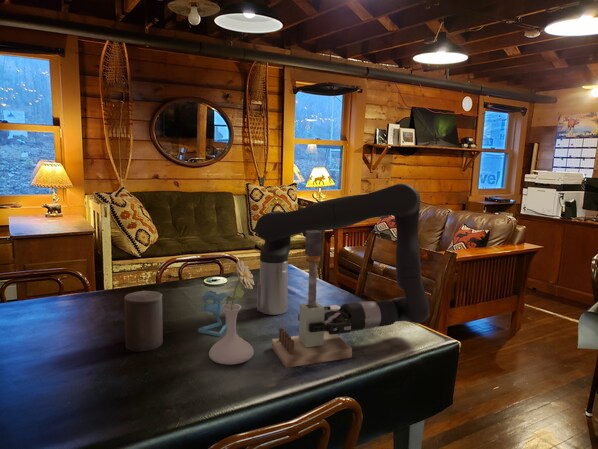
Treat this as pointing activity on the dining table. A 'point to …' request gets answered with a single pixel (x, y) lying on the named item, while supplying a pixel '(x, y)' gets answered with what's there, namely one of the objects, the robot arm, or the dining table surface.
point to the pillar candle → (143, 321)
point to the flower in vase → (234, 326)
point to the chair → (214, 312)
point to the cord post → (291, 347)
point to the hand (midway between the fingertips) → (303, 322)
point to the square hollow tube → (305, 319)
